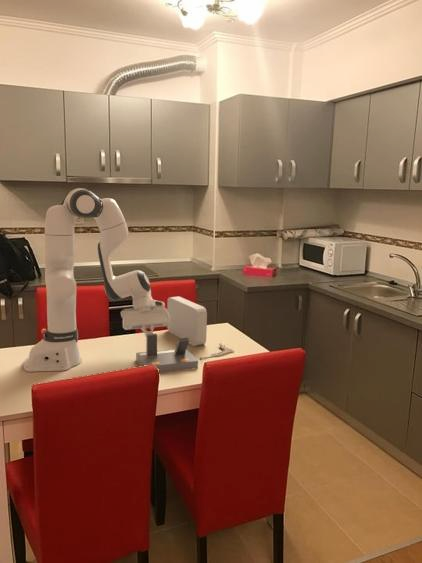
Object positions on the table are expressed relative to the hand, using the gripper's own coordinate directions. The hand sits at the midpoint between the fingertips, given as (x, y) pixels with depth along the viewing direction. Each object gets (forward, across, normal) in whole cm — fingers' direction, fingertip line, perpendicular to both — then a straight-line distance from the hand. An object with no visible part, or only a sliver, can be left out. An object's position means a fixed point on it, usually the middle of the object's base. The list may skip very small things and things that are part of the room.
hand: (149, 336), depth 193 cm
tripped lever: (+8, 0, +1) cm, 8 cm away
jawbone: (+8, +29, +9) cm, 31 cm away
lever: (+8, +12, +1) cm, 14 cm away
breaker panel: (+12, +6, +4) cm, 14 cm away
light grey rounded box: (-9, +24, +25) cm, 36 cm away
